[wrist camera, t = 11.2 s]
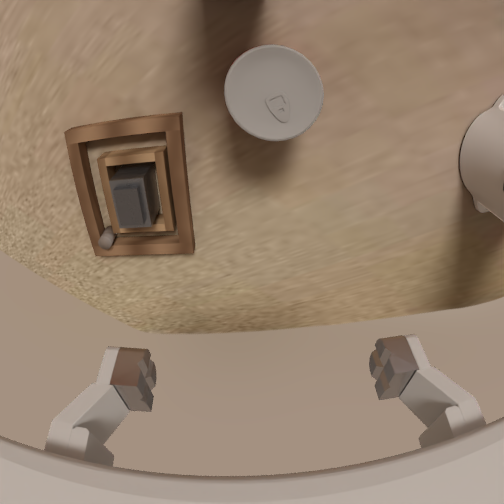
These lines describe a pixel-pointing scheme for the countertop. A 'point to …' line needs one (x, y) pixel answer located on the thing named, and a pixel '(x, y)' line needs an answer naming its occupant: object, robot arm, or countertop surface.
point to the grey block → (135, 195)
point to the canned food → (273, 92)
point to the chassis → (165, 157)
